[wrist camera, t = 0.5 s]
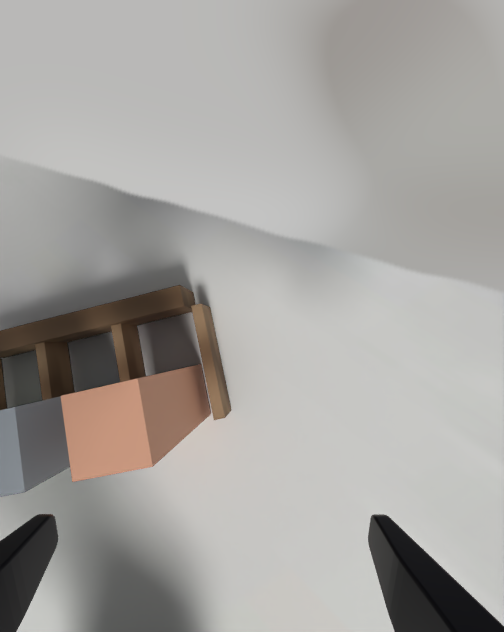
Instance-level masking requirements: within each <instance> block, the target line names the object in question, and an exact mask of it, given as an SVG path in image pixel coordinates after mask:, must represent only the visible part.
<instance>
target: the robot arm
mask: <svg viewBox="0 0 504 632" xmlns="http://www.w3.org/2000/svg"><path fill="white" fill-rule="evenodd" d="M57 542H58V533H57V527H56V521H55V517H54V516H53V515H52V514H39V515H37V516H35V517H33V518H32V519H30V520H29V521H28V522H26V523H25V524H24V525H22V526H21V527H19V528H18V529H17V530H15V531H14V532H12V533H11V534H10V535H8V536H7V537H5V538H4V539H3V540H1V541H0V632H16V631H17V629H18V627H19V625H20V623H21V622H22V620H23V618H24V616H25V614H26V612H27V610H28V607H29V605H30V603H31V601H32V599H33V597H34V594H35V592H36V590H37V588H38V586H39V584H40V581H41V579H42V577H43V575H44V573H45V570H46V568H47V566H48V564H49V562H50V560H51V557H52V555H53V553H54V551H55V549H56V546H57ZM368 542H369V547H370V551H371V554H372V558H373V561H374V565H375V568H376V572H377V575H378V579H379V582H380V586H381V589H382V593H383V596H384V600H385V603H386V607H387V610H388V613H389V617H390V619H391V622H392V625H393V628H394V631H395V632H504V626H503V625H502V624H501V623H500V622H499V621H498V620H497V619H496V618H495V617H494V616H492V615H491V614H490V613H489V612H488V611H487V610H486V609H485V608H484V607H483V606H482V605H481V604H480V603H479V602H478V601H477V600H476V599H475V598H474V597H472V596H471V595H470V594H469V593H468V592H467V591H466V590H465V589H464V588H463V587H462V586H461V585H460V584H459V583H458V582H457V581H456V580H455V579H454V578H453V577H451V576H450V575H449V574H448V573H447V572H446V571H445V570H444V569H443V568H442V567H441V566H440V565H439V564H438V563H437V562H436V561H435V560H434V559H433V558H432V557H430V556H429V555H428V554H427V553H426V552H425V551H424V550H423V549H422V548H421V547H420V546H419V545H418V544H417V543H416V542H415V541H414V540H413V539H412V538H411V537H409V536H408V535H407V534H406V533H405V532H404V531H403V530H402V529H401V528H400V527H399V526H398V525H397V524H396V523H395V522H394V521H393V520H392V519H391V518H390V517H388V516H387V515H372V516H371V520H370V527H369V535H368Z"/></svg>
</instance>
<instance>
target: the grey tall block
mask: <svg viewBox="0 0 504 632" xmlns="http://www.w3.org/2000/svg"><path fill="white" fill-rule="evenodd" d="M69 467H70V461H69V454H68V447H67V439H66V432H65V425H64V418H63V410H62V403H61V396H60V397H55V398H51V399H47V400H42V401H38V402H34V403H29V404H25V405H20V406H16V407H12V408H7V409H3V410H0V497H2V496H7V495H12V494H18V493H23V492H26V491H28V490H30V489H31V488H33V487H35V486H37V485H38V484H40V483H42V482H44V481H46V480H47V479H49V478H51V477H53V476H54V475H56V474H58V473H60V472H62V471H63V470H65V469H67V468H69Z"/></svg>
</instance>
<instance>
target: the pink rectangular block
mask: <svg viewBox="0 0 504 632" xmlns="http://www.w3.org/2000/svg"><path fill="white" fill-rule="evenodd" d="M61 403H62V410H63V418H64V425H65V432H66V439H67V447H68V454H69V461H70V468H71V475H72V482H75V481H80V480H85V479H90V478H96V477H101V476H106V475H111V474H117V473H122V472H127V471H132V470H137V469H143V468H148V467H153V466H154V465H155V464H156V463H157V462H158V461H159V460H161V459H162V458H163V457H164V456H165V455H166V454H167V453H168V452H169V451H170V450H172V449H173V448H174V447H175V446H176V445H177V444H178V443H179V442H180V441H182V440H183V439H184V438H185V437H186V436H187V435H188V434H189V433H190V432H191V431H193V430H194V429H195V428H196V427H197V426H198V425H199V424H200V423H201V422H203V421H204V420H205V419H206V418H207V417H208V416H209V415H210V414H211V412H210V407H209V402H208V397H207V392H206V387H205V382H204V377H203V372H202V367H201V364H199V365H195V366H190V367H186V368H181V369H177V370H172V371H168V372H163V373H159V374H155V375H150V376H146V377H141V378H137V379H133V380H128V381H124V382H119V383H115V384H111V385H106V386H102V387H97V388H93V389H89V390H84V391H80V392H75V393H71V394H67V395H62V396H61Z"/></svg>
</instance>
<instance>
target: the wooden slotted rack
mask: <svg viewBox="0 0 504 632" xmlns="http://www.w3.org/2000/svg"><path fill="white" fill-rule="evenodd" d="M189 312H193V317H194V322H195V327H196V332H197V337H198V342H199V347H200V352H201V357H202V362H203V367H204V372H205V377H206V382H207V387H208V392H209V397H210V402H211V407H212V412H213V417H214V420H216V419H221V418H225V417H226V416H227V415H228V414H229V412H230V411H231V406H230V401H229V396H228V392H227V387H226V382H225V377H224V372H223V367H222V363H221V358H220V353H219V348H218V343H217V339H216V334H215V329H214V324H213V319H212V315H211V310H210V307H208V306H206V305H204V304H202V303H201V304H197V305H196V304H195V299H194V294H193V292H192V291H190V290H188V289H186V288H184V287H183V286H181V285H178V286H174V287H170V288H166V289H162V290H158V291H154V292H150V293H146V294H142V295H139V296H135V297H131V298H127V299H123V300H119V301H115V302H111V303H107V304H103V305H99V306H95V307H91V308H87V309H84V310H80V311H76V312H72V313H68V314H64V315H60V316H56V317H52V318H48V319H44V320H40V321H36V322H33V323H29V324H25V325H21V326H17V327H13V328H9V329H5V330H1V331H0V358H5V357H9V356H13V355H17V354H22V353H26V352H30V351H34V350H36V355H37V362H38V370H39V378H40V385H41V393H42V400H47V399H51V398H55V397H60V396H62V395H67V394H71V393H74V386H73V379H72V372H71V366H70V359H69V352H68V345H67V342H71V341H75V340H79V339H83V338H87V337H91V336H95V335H99V334H103V333H108V332H112V335H113V341H114V347H115V353H116V359H117V366H118V372H119V378H120V382H124V381H128V380H133V379H137V378H141V377H146V375H145V370H144V364H143V358H142V353H141V347H140V341H139V335H138V330H137V325H140V324H144V323H149V322H153V321H157V320H161V319H165V318H169V317H173V316H177V315H181V314H185V313H189ZM3 409H7V406H6V397H5V389H4V380H3V371H2V363H1V359H0V410H3Z"/></svg>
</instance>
